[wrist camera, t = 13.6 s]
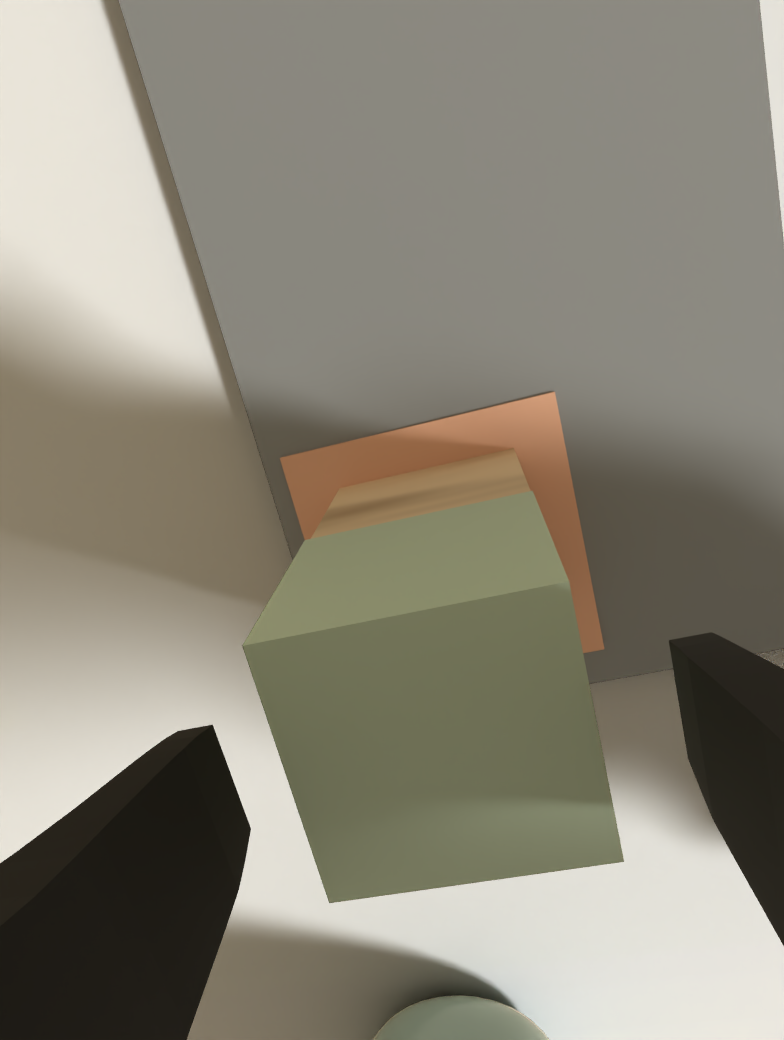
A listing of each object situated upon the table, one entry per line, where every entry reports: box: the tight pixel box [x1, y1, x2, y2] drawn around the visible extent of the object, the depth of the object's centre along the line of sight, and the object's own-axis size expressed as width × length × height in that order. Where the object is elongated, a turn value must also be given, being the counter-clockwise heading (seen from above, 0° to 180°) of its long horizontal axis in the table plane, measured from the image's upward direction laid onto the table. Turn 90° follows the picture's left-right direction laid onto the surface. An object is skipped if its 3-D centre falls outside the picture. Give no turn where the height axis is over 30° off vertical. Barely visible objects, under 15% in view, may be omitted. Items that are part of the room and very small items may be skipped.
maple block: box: [311, 448, 531, 539], centre depth 17 cm, size 4×4×4 cm
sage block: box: [243, 491, 624, 903], centre depth 13 cm, size 4×4×4 cm
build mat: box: [118, 0, 784, 684], centre depth 17 cm, size 22×13×1 cm, turn 14°
